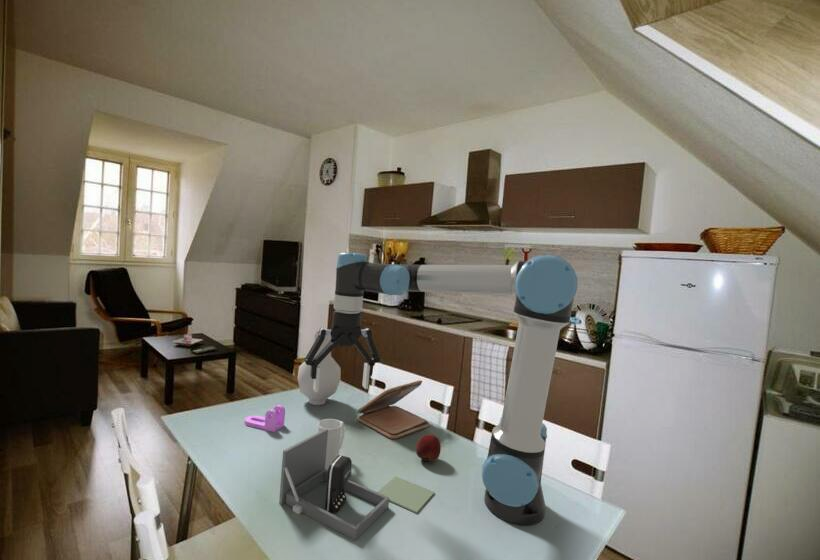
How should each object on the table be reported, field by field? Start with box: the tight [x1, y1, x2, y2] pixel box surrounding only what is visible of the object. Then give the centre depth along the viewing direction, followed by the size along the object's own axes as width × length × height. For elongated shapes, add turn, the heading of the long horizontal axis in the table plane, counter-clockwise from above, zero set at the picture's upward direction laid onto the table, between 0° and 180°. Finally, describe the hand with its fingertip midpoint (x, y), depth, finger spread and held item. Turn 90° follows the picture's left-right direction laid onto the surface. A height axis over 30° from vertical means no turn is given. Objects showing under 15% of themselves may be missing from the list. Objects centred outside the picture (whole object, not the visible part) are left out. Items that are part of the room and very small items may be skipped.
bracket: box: [244, 404, 286, 433], centre depth 134 cm, size 13×6×7 cm, turn 74°
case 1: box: [278, 429, 390, 541], centre depth 96 cm, size 22×15×13 cm
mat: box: [377, 475, 435, 514], centre depth 103 cm, size 12×10×1 cm
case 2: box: [356, 379, 430, 440], centre depth 145 cm, size 20×21×16 cm
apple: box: [415, 433, 442, 462], centre depth 121 cm, size 7×8×8 cm
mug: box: [316, 418, 346, 470], centre depth 114 cm, size 10×7×12 cm, turn 149°
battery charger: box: [324, 454, 353, 514], centre depth 96 cm, size 7×4×11 cm, turn 165°
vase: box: [297, 330, 342, 406], centre depth 157 cm, size 17×16×28 cm
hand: (341, 389), depth 107 cm, fingers open, 13 cm apart
